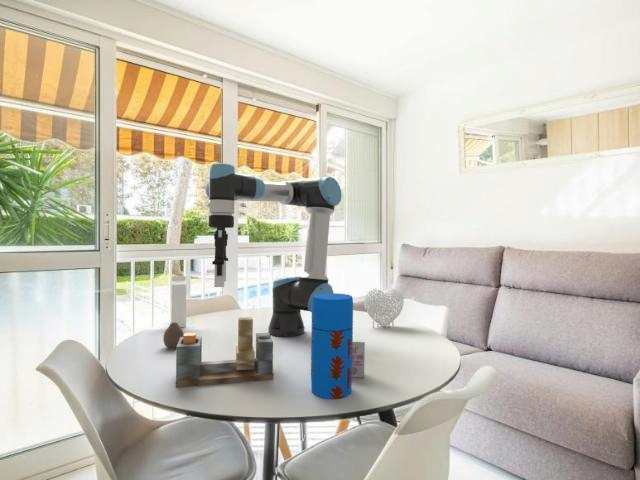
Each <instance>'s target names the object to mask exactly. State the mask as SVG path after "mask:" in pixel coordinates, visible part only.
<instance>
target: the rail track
mask: <svg viewBox="0 0 640 480" xmlns="http://www.w3.org/2000/svg"><path fill="white" fill-rule="evenodd" d="M271 336H272V335H271V334H269V333H268V332H257V333H255V363H254V369H243V370H237V361H236V359H229V360H228V359H227V360H225V359H224V360H213V361H212V360H211V361H210V360H209V361H202V356H203V355H202V353H203V352H202V350H203V348H202V347H203V346H202V343H203V337H202V336H201V335H199V336H197V335H196V343H190V344H183V337H180V339H179V342H178V344H177V347H176V349H175V358H176V359H175V362H176V363H175V370H176V371H175V388H182V387H195V386H207V385H208V386H209V385H221V384H222V385H223V384H230V383H231V384H233V383H243V382H246V383H247V382H258V381H259V382H260V381H269V380H270V381H272V380H274V371H273V370H274V369H273V368H274V363H273V362H274V341H273V338H272V337H271Z"/></svg>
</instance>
